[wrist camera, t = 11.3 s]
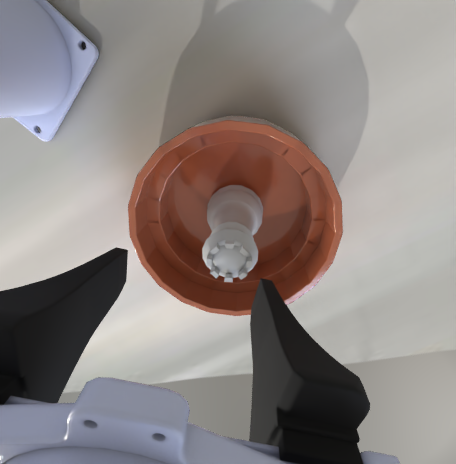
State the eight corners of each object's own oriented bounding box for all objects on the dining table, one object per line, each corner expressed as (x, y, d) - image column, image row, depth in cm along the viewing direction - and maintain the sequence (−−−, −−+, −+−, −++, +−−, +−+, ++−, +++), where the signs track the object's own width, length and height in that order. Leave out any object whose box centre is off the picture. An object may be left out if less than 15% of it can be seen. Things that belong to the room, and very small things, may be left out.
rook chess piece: (226, 243, 24) (217, 306, 16) (197, 200, 22) (172, 250, 15) (273, 218, 22) (284, 276, 15) (244, 172, 21) (242, 211, 14)
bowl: (120, 209, 23) (90, 236, 19) (230, 68, 18) (225, 59, 14) (239, 301, 27) (237, 342, 22) (359, 205, 22) (388, 232, 17)
